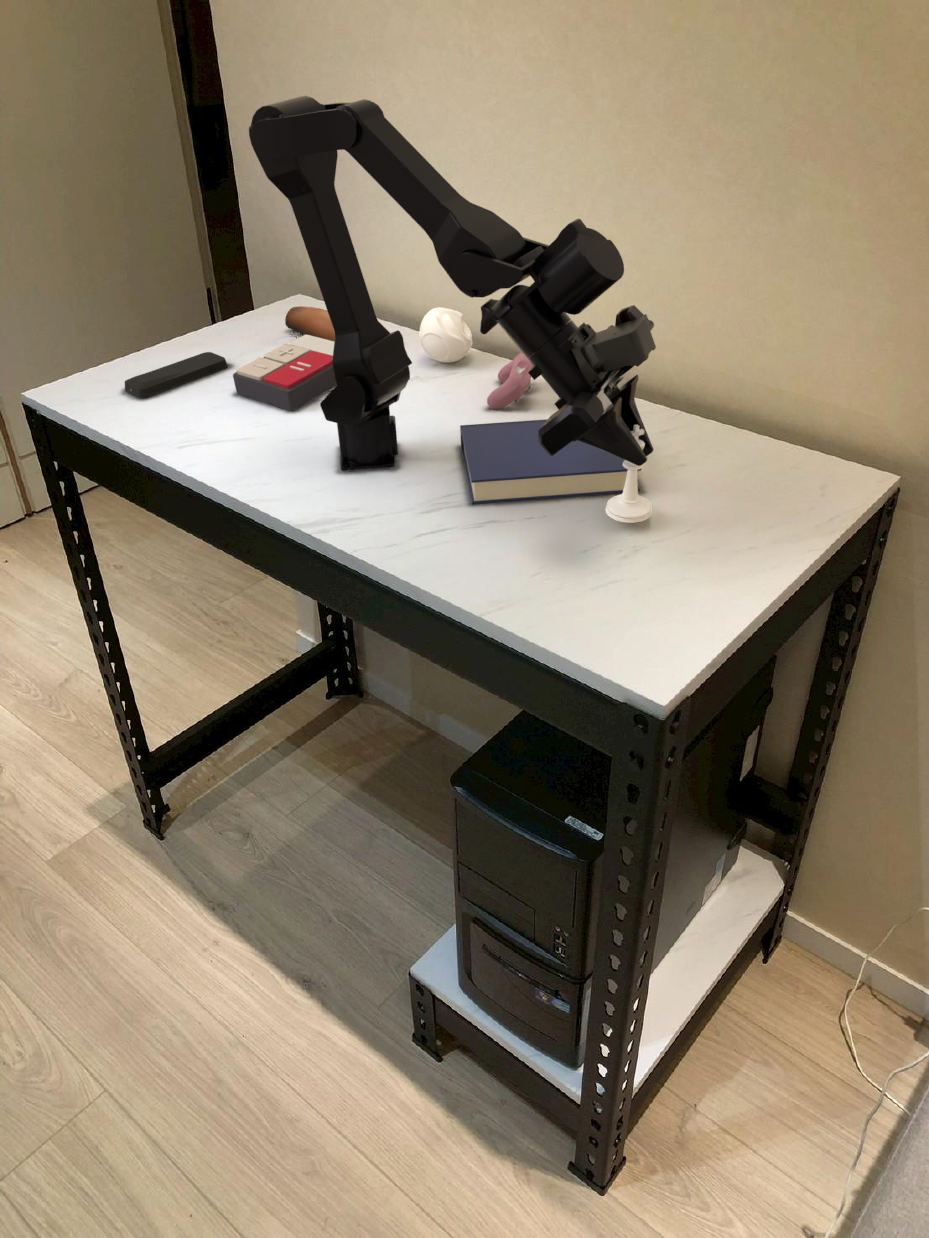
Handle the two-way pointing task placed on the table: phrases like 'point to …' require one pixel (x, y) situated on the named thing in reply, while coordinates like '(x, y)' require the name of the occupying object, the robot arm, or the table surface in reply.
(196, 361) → the remote control
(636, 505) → the chess piece
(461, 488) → the table surface
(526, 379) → the video game controller
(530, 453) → the blue book
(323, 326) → the sunglasses case
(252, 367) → the calculator
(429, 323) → the white ball
